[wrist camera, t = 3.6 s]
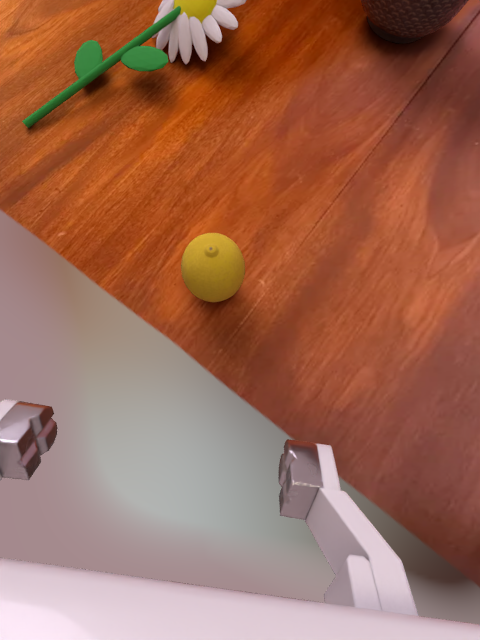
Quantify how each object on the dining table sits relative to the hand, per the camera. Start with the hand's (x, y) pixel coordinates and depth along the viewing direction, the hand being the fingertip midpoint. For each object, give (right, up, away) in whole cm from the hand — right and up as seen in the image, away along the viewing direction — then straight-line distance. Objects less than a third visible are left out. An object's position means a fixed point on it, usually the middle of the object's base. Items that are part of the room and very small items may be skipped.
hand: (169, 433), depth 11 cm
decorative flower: (-10, +34, +28) cm, 45 cm away
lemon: (0, +7, +21) cm, 22 cm away
